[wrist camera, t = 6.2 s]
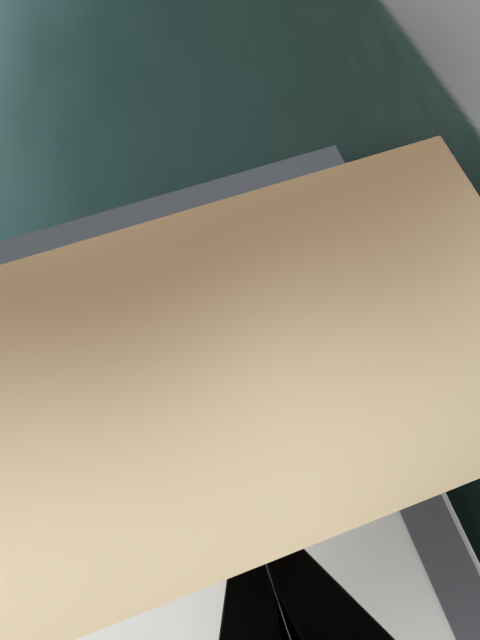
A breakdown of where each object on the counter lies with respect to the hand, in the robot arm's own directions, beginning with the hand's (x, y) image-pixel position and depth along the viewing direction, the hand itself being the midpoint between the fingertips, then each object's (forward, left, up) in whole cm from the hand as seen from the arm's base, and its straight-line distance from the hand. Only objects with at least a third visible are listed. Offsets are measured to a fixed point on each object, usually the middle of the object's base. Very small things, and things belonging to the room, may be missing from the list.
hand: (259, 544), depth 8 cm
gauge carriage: (+2, -1, -6) cm, 6 cm away
